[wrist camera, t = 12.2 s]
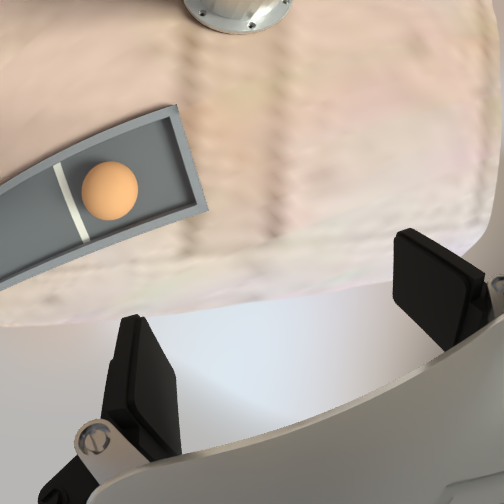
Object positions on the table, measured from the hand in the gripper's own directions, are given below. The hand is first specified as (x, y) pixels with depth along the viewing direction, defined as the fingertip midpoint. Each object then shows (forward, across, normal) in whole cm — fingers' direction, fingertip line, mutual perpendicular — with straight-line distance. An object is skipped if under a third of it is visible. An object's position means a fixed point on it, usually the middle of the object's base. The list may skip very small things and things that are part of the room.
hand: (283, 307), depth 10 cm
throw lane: (+26, +19, -2) cm, 32 cm away
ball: (+22, +10, -2) cm, 25 cm away
